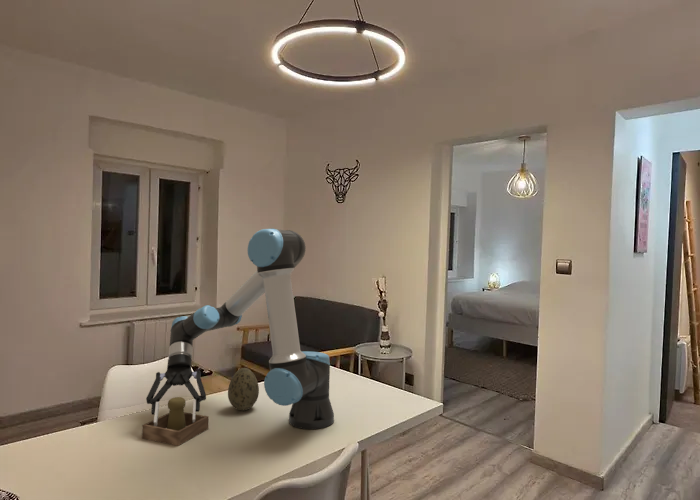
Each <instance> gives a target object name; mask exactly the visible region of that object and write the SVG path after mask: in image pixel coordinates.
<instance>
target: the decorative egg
mask: <svg viewBox="0 0 700 500" xmlns="http://www.w3.org/2000/svg"><path fill="white" fill-rule="evenodd" d="M229 382H230V383H229V385H228V389H227V397H228V401H229V403H230V405H231V406H232V407H233V408H234V409H235V410H238V411H247V410H249V409H251V408H252V407H253V406H254V405H255V404H256V403H257V400H258V398H259V394H260V387H259V386H260V385H259V382H258V380H257V378H256V375H255V374H254V372H253V371H252V370H251V369H250V368H247V367H242V368H239V369H238V370H237V371H236V372H235V373H234V374H233V375H232V377H231V379H230V381H229Z"/></svg>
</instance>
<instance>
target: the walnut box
mask: <svg viewBox="0 0 700 500" xmlns="http://www.w3.org/2000/svg"><path fill="white" fill-rule="evenodd" d="M184 416H185V424H186V427H185V428H183V429H181V430H179V431H177V430H172V429H167V424H168V417H169V412H168V413H166V414H164V415H161V416H158V422H157V426H154V419H153V420H151V421H148V422H146V423H144V424H142V431H141V432H142V433H141V434H142V435H141V438H142V439H144V440H149V441H153V442H158V443H163V444H167V445H173V446H177V447H179V446H181V445H182V444H185V443H186V442H188V441H190V440H192V439H193V438H195V437H197V436H199V435H200V434H202V433H205V432H206V431H207V430H209V416H208V415H202V414H197V413H196V417H195V422H194V423H193V420H192V419H193V412H192V413H190V412H186V411H184Z"/></svg>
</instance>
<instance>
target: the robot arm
mask: <svg viewBox="0 0 700 500" xmlns="http://www.w3.org/2000/svg"><path fill="white" fill-rule="evenodd" d="M305 242H306V241H305V240H304V239H303V236H302V235H300V234H299V233H298V232H296V231H294V230H290V229H289V230H288V229H276V228H262V229H260V230H258V231H256V232H255V233H253V235H252V237H251V238H250V239H249V241H248V243H247V256H248V259H249V260H250V262H252V264H253V265H255V266H256V269H257V270H255V272H254V273H253V274H251V276H250V277H249V278H248V279H246V281H245V282H244V283H243V284H242V285H240V287H239V288H238V289H237V290H236V291H235V292H234V293H233V294H232V295H231V296H230V297H229V298H228V299H227V300H226V301H225V302H224V303H223V304H222V305H221V306H219V307H214V306H211V305H203V306H202V307H200V308H197V310H195V312H193V313H191V314H190V315H189V316H187V315H185V316H183V315H182V316H179V317H176V318H174V319H173V321H172V323H171V326H170V327H171V328H170V337H169V347H168V356H167V357H168V358H167V367H166V371H165V372H162V373H161V372H160V371H157V372H156V373H155V378H154V381H153V384H152V386H151V387H150V390H149V392H148V394H147V396H146V399H145V400H146V404H147V405H151V412H150V413H151V415H153V420H154V426H157V422H158V418H159V410H160V401H161V399H162V398H163V397H164V396H165V395H166V393H167V391H168V390H169V389H170V388H171V387H175V386H185V387H186V389H187V390H188V391H189V393H190V395H191V396H192V397H193V402H192V403H193V405H192V414H193V419H192V420H193V423H194V422H195V417H196V414H197V412H200V409H201V402H202V401H206V400H207V393H206V390H205V387H204V385H203V382H202V378H201V375H202V374H201V370H200V369H199V370H198V369H197V370H196V371H192V361H193V360H192V358H193V345H194V344H193V343H194V340H195V339H197V338H198V337H200V336H201V335H203V334H204V333H206V332H211V331H214V330H218V329H223V328H227V327H228V328H230V327H234V326H235V325H237V324H239V323H240V322H241V320H242V318H243V314H244V313H245V312H247V310H249V308H251V307H252V305H254V303H256V301H258V300H259V299H260V298H261V297H262V296H263V295H264V296H265V301H266V302H265V303H266V310H267V318H268V326H269V335H270V342H271V348H272V349H271V350H272V355H271V357H270V359H269V360H268V365H269V371H268V372H267V373H266V375H265V377H264V381H263V387H264V390H265V393H266V396H267V397H268V398H269V399H270V400H271V401H273V403H274V404H276V405H279V406H284V407H285V406H291V407H290V411H289V415H288V423H289V424H290V425H291V426H293V427H294V428H299V429H305V430H316V429H317V430H318V429H323V428H326V427H329V426H331V425H333V423H334V421H335V414H334V409H333V406H332V403H331V400H330V378H331V377H330V373H331V369H330V368H331V363H330V362H331V361H330V355H329V354H327V353H324V352H318V351H309V350H307V351H302V350H301V344H300V337H299V336H300V335H299V330H298V321H297V315H296V308H295V300H294V298H295V297H294V292H293V284H292V273H293V272H294V270H295V269H296V267H297V266H298V265H299V264H300V263H301V262H302V260H303V259H304V257H305V254H306V243H305ZM192 377H193V378H194V379H195V380H196V384H197V387H198V390H199V393H200V395H199V393H198V391H197V390H196V389H195V386H194V385H193V384H192V383H191V380H190V379H191V378H192ZM164 378H165V379H166V381H165V383H164V384H163V385H162V386H161V388H160V389H159V391H158V392H157V390H158V388H159V387H160V384H161V381H163V380H164ZM156 392H157V393H156Z"/></svg>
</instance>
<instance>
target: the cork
mask: <svg viewBox="0 0 700 500" xmlns="http://www.w3.org/2000/svg"><path fill="white" fill-rule="evenodd" d="M185 408H186V399H185V398H184V397H182V396H176V397H172V398H170V399H169V400H168V402H167V409H168V410H169V412H168V413H169V417H168V424H167V429H172V430H177V431H179V430H181V429H183V428H185V427H187V426H186V424H185V416H184V412H185Z"/></svg>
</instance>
